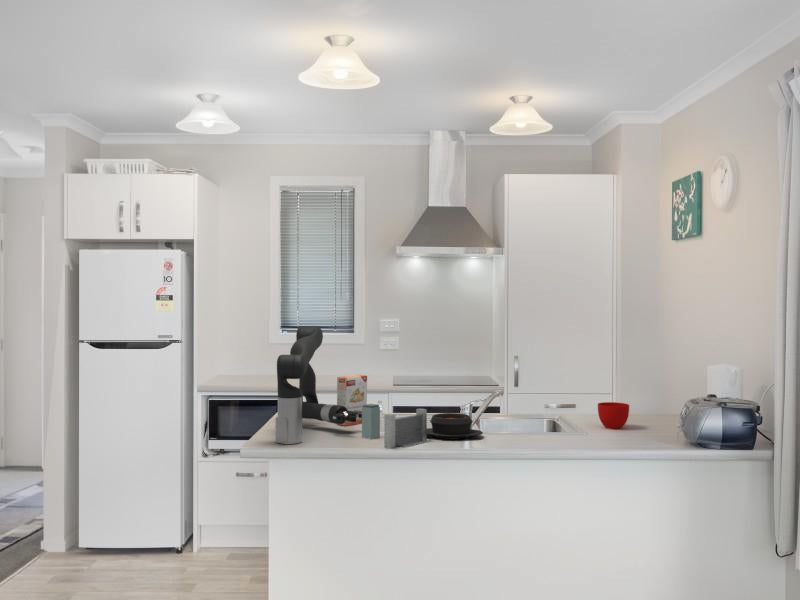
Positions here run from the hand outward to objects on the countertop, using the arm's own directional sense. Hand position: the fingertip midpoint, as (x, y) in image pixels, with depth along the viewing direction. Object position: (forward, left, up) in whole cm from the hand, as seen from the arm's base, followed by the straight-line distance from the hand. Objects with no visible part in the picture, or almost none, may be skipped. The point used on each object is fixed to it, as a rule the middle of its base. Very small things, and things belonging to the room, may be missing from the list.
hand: (362, 418), depth 303 cm
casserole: (+22, -27, -7) cm, 36 cm away
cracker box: (+18, +24, -7) cm, 30 cm away
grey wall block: (-1, -25, -7) cm, 26 cm away
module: (0, -4, -7) cm, 8 cm away
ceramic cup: (+86, -65, -7) cm, 108 cm away
